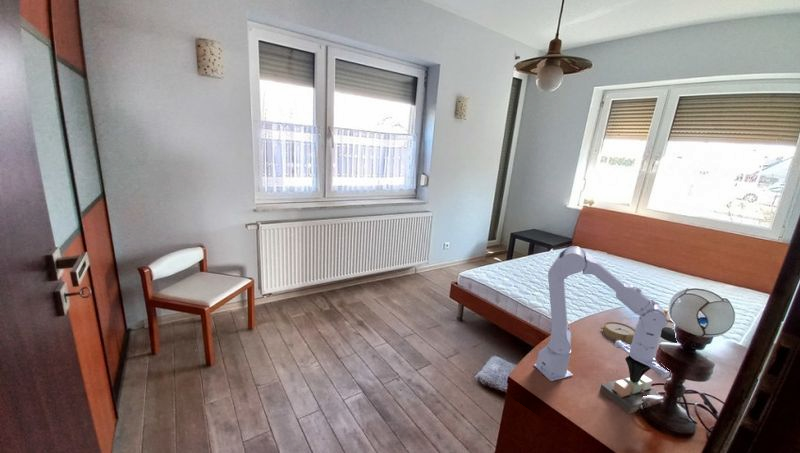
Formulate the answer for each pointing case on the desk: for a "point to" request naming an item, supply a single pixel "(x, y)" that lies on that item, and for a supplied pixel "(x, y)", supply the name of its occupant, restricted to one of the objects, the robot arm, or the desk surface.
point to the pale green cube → (634, 385)
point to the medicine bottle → (667, 336)
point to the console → (625, 397)
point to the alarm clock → (619, 331)
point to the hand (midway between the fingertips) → (634, 380)
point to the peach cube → (622, 388)
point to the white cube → (645, 382)
